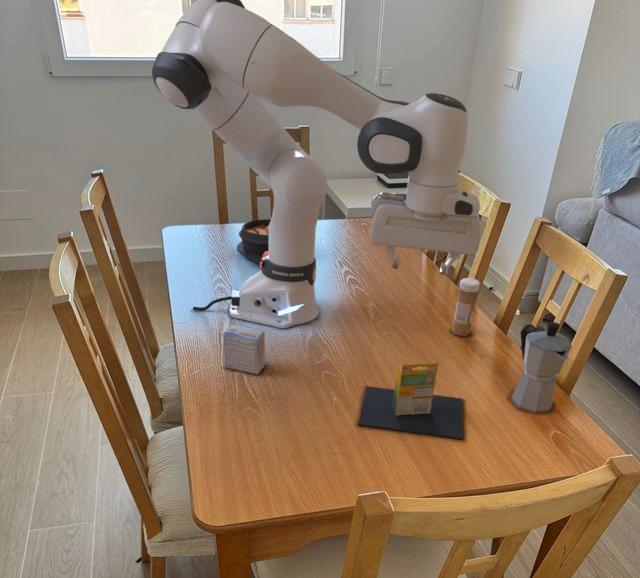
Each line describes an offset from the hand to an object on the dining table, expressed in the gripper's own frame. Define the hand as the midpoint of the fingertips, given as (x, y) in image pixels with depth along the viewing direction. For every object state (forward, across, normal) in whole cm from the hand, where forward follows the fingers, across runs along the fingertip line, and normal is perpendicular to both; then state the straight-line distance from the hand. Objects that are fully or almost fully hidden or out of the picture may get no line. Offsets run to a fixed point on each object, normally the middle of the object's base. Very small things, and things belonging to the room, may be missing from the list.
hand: (418, 270), depth 121 cm
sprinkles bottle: (+25, +13, +27) cm, 39 cm away
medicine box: (+26, -34, -1) cm, 43 cm away
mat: (+25, +3, -11) cm, 28 cm away
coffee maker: (+25, +27, 0) cm, 37 cm away
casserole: (+26, -44, +65) cm, 83 cm away
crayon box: (+25, +2, -11) cm, 27 cm away
